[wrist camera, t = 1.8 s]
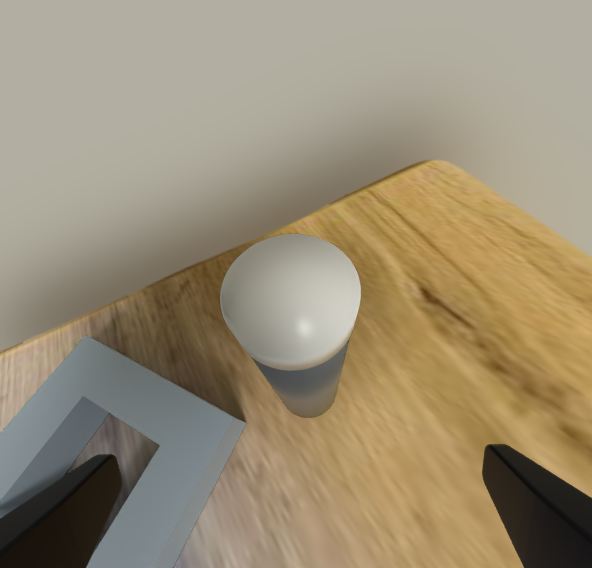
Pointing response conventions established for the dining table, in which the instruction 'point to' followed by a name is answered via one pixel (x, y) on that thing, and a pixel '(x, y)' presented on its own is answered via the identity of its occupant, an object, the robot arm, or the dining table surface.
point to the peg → (294, 315)
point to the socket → (142, 417)
